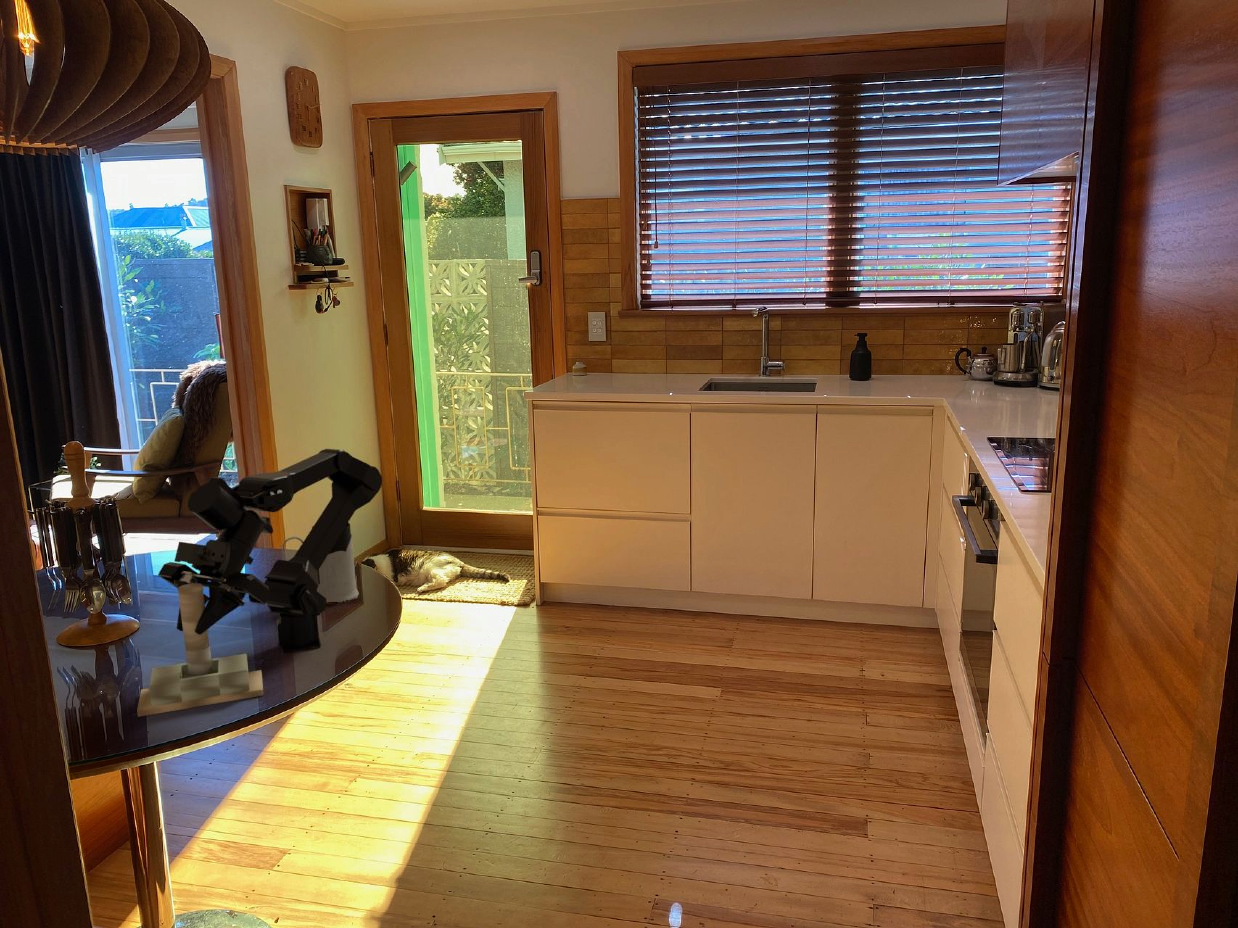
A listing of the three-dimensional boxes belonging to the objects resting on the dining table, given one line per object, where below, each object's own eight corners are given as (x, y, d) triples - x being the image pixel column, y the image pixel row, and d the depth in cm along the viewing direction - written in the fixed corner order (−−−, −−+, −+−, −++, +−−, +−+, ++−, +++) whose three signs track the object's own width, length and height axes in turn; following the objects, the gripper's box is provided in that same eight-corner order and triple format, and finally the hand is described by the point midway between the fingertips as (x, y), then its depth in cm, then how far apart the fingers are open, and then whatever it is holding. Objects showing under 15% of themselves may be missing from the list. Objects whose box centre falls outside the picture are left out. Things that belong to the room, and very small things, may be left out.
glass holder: (362, 598, 194) (357, 528, 191) (290, 610, 188) (283, 537, 184) (354, 586, 201) (348, 518, 198) (284, 597, 195) (277, 527, 192)
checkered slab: (261, 675, 158) (259, 650, 157) (263, 695, 150) (260, 668, 149) (142, 695, 151) (138, 669, 150) (137, 716, 144) (134, 689, 143)
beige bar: (203, 664, 152) (192, 581, 149) (217, 668, 150) (207, 585, 147) (183, 672, 149) (172, 588, 146) (197, 677, 147) (187, 592, 144)
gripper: (160, 514, 152) (109, 601, 144) (248, 525, 145) (198, 618, 137) (204, 547, 161) (158, 631, 153) (289, 559, 153) (245, 648, 146)
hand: (188, 631), depth 147 cm, fingers closed on beige bar, 3 cm apart
